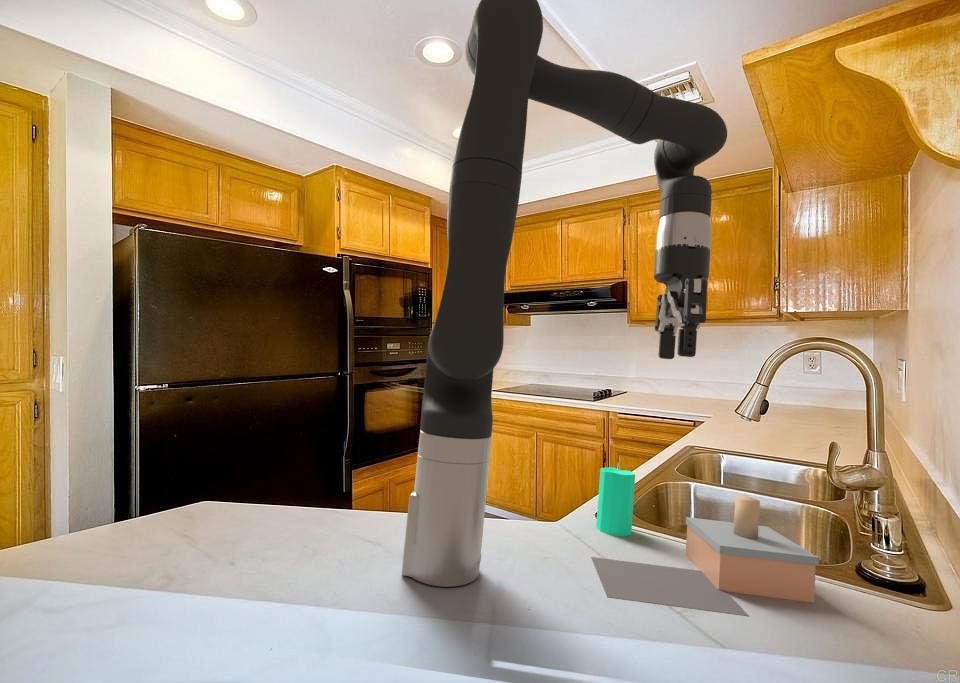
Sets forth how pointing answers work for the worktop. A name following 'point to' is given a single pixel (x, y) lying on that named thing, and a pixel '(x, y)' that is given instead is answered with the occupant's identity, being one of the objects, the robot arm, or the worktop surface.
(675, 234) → the robot arm
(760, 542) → the lid
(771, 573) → the dish
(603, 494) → the candle
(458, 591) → the worktop surface
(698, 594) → the mat
